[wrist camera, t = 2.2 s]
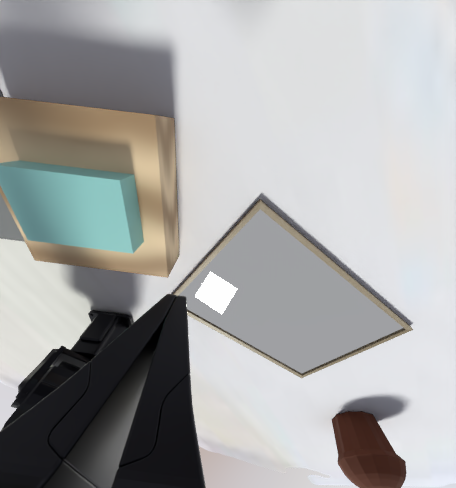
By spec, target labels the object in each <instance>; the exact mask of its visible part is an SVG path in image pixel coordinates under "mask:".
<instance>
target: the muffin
mask: <svg viewBox="0 0 456 488" xmlns="http://www.w3.org/2000/svg"><path fill="white" fill-rule="evenodd" d="M332 423H333V428H334V434H335V439H336V445H337V450H338V455H339V456H338V465H339V466H340V468H341V469H342V471H343V473H344V474H345V475H346V476H347V478H348V479H349V480H350V481H351V482H352V483H354V484H355V485H356V486H358V487H359V488H401V486H402V485H403V483H404V481H405V477H406V466H405V461H404V460H403V459H402V458H400V457H399V456H398V455H397V454H396V453H395V451H394V450H393V448H392V446H391V445H390V443H389V441H388V440H387V438H386V436H385V434H384V433H383V431H382V429H381V428H380V426H379V424H378V423H377V421H376V419H375V417H374V416H373V414H368V413H365V412H362V411H358V412H350V411H348V412H345V413H341V414H337V415H336V416H335V417H334V418H333V419H332Z"/></svg>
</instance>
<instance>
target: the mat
mask: <svg viewBox="0 0 456 488" xmlns="http://www.w3.org/2000/svg"><path fill="white" fill-rule="evenodd" d="M0 97H3V95H2V93H1V91H0ZM0 238H2V239H10V240H18V241H25V240H24V238H23V236H22V234H21V232H20V230H19V228H18V227H17V225H16V223H15V221H14V219H13V217H12V215H11V213H10V211H9V209H8V207H7V205H6V203H5V201H4V199H3V197H2V195H1V193H0Z"/></svg>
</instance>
